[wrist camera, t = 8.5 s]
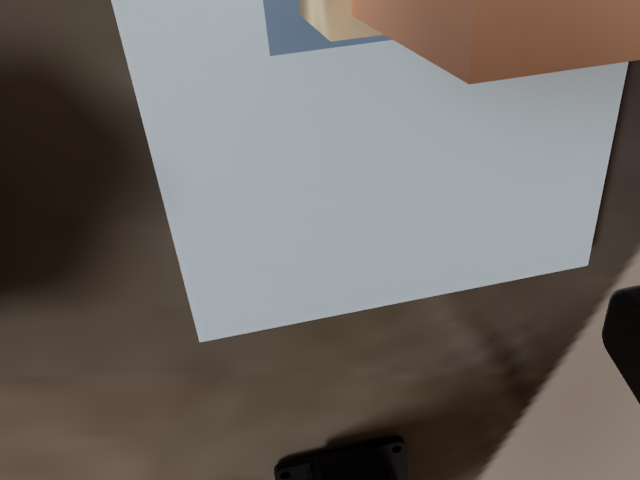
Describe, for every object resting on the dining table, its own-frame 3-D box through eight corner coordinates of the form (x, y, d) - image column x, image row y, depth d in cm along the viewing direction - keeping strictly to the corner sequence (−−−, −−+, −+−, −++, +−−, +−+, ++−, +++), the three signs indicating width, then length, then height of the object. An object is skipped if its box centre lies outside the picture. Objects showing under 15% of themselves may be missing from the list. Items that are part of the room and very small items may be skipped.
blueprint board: (573, 253, 24) (587, 265, 23) (199, 326, 22) (199, 342, 21) (678, -326, 14) (709, -342, 14) (41, -297, 12) (29, -314, 11)
